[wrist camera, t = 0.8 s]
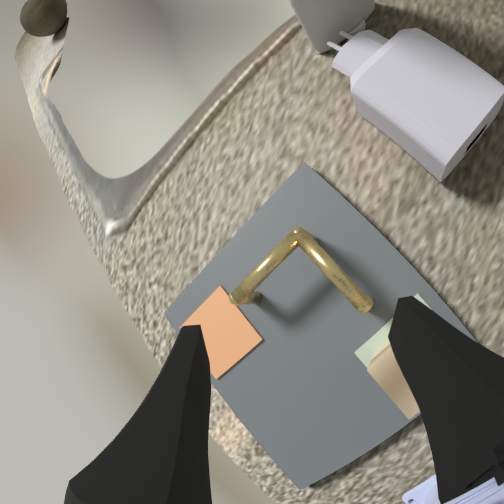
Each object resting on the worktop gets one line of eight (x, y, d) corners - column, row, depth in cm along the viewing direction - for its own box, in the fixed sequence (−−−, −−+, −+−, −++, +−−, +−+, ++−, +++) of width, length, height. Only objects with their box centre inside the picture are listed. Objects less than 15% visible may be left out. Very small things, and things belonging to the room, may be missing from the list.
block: (451, 355, 18) (464, 372, 14) (407, 393, 19) (409, 419, 14) (416, 314, 20) (422, 320, 15) (373, 353, 20) (366, 370, 16)
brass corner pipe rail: (377, 302, 21) (373, 305, 18) (305, 366, 23) (288, 379, 19) (312, 232, 24) (296, 222, 20) (248, 296, 25) (223, 297, 22)
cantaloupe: (44, 53, 61) (5, 33, 48) (52, 29, 65) (17, 9, 51) (76, 19, 56) (36, -6, 43) (82, -2, 60) (47, -25, 46)
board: (482, 351, 18) (487, 354, 17) (304, 483, 22) (299, 491, 21) (308, 167, 26) (303, 160, 24) (172, 312, 30) (162, 313, 29)
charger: (369, 28, 25) (498, 115, 19) (308, 82, 27) (439, 186, 21) (360, -5, 20) (510, 84, 15) (291, 52, 23) (447, 163, 17)
